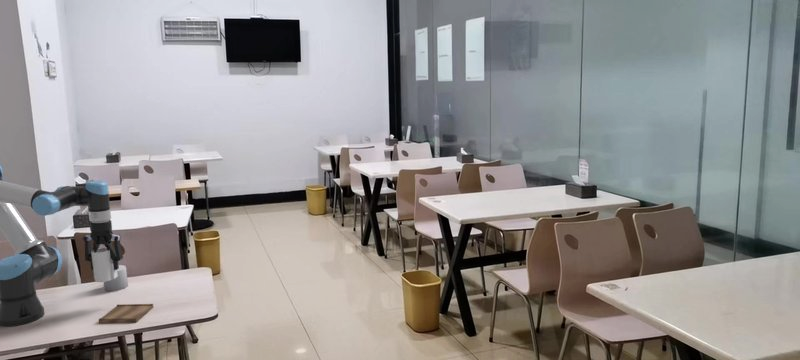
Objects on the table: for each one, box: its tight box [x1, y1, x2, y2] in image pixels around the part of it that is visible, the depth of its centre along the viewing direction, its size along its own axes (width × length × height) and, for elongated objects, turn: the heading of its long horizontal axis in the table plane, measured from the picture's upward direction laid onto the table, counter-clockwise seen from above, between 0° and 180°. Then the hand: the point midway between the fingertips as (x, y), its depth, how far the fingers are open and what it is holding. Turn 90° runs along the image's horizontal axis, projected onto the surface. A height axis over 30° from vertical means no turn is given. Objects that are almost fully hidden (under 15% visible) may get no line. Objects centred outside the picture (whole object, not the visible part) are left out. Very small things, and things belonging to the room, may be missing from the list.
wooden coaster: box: [98, 303, 154, 324], centre depth 220 cm, size 14×14×2 cm
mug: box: [91, 247, 113, 283], centre depth 229 cm, size 10×7×12 cm, turn 165°
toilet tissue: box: [103, 264, 129, 293], centre depth 252 cm, size 9×13×9 cm
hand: (105, 277), depth 230 cm, fingers closed on mug, 6 cm apart
